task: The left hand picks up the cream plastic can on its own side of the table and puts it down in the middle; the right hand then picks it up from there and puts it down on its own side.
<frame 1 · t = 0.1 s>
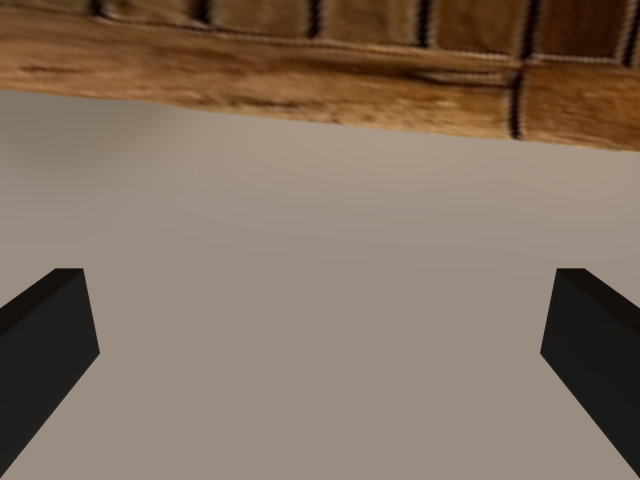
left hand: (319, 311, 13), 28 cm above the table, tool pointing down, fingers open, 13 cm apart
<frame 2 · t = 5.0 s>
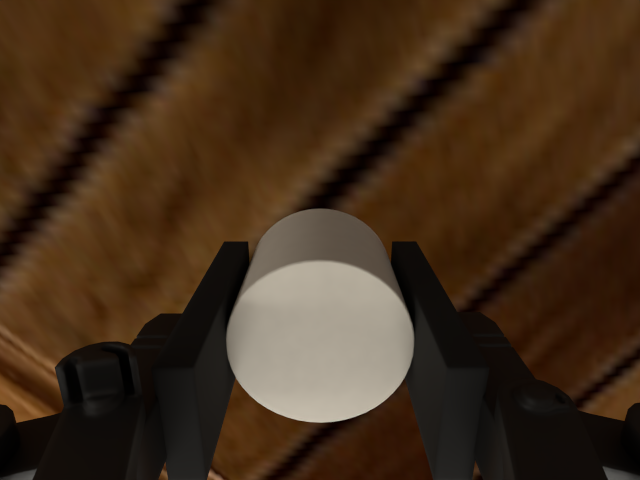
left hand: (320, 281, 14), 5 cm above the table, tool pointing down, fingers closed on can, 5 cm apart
can: (320, 275, 15), point 5 cm above the table, touching left hand
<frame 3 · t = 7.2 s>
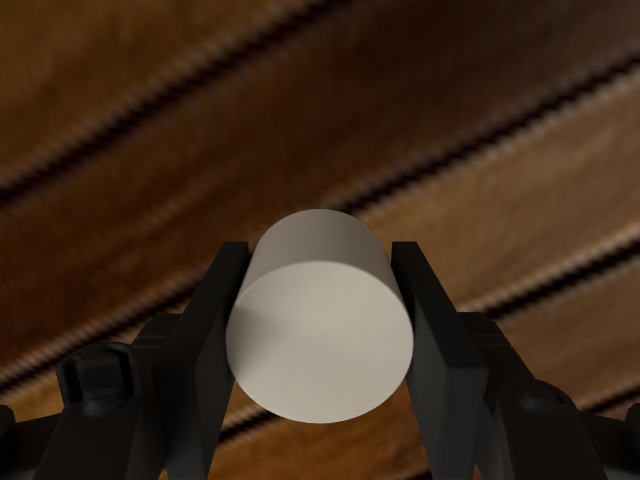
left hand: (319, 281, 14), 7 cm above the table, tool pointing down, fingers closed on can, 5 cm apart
can: (319, 275, 15), point 6 cm above the table, touching left hand
when the left hand's fingers open (1 cm above the table, at t = 9.6 s): can stays where it is, on the table.
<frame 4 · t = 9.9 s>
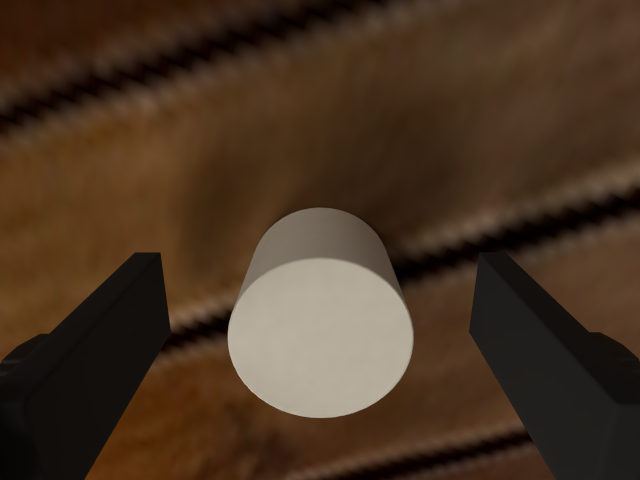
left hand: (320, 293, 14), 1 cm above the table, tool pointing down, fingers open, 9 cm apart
can: (320, 273, 15), on the table
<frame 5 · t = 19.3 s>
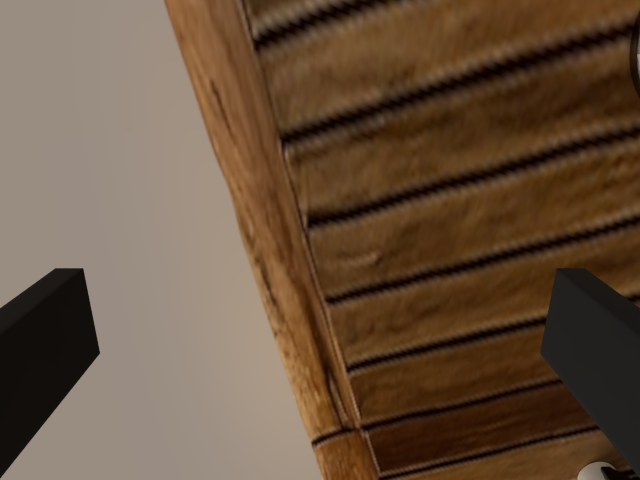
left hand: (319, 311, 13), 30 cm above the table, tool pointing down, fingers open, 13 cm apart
can: (596, 475, 55), on the table, touching right hand
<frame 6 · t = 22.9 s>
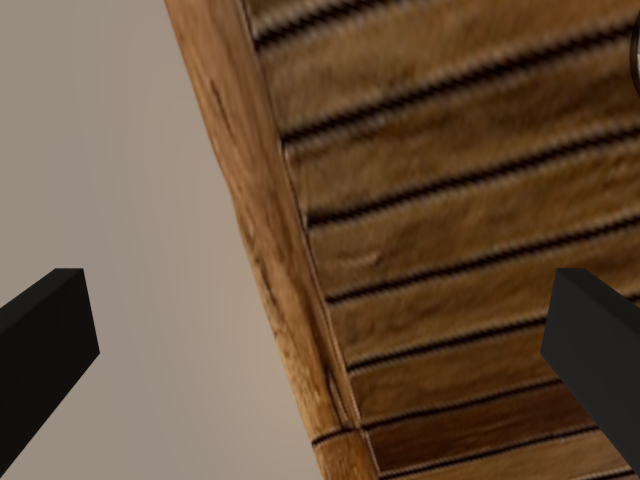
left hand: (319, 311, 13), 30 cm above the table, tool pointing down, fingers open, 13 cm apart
when the right hand's fingers open (2 cm above the table, at t = 26.7 s): can drops 1 cm, on the table.
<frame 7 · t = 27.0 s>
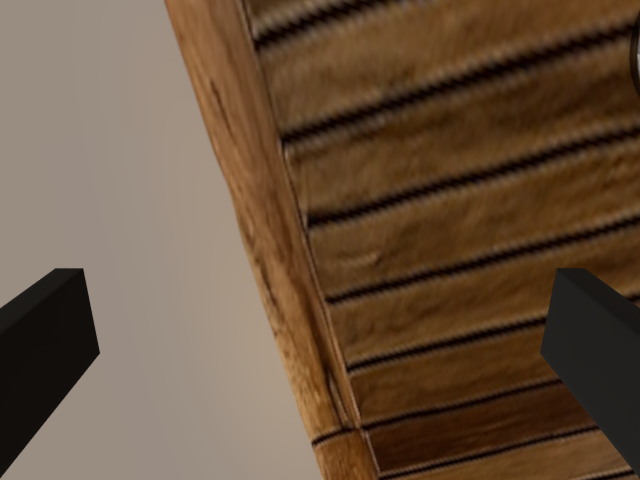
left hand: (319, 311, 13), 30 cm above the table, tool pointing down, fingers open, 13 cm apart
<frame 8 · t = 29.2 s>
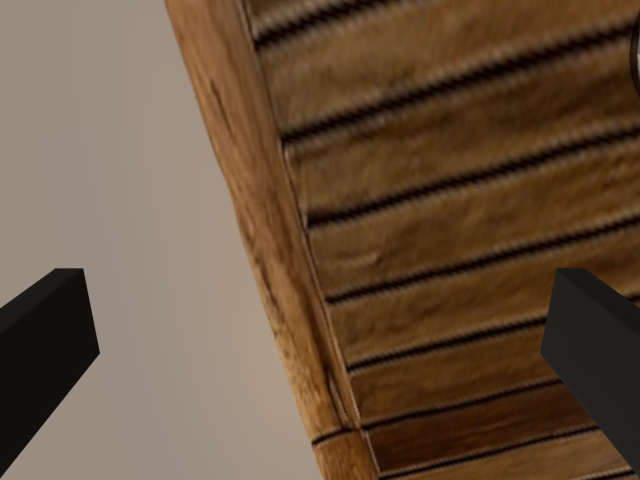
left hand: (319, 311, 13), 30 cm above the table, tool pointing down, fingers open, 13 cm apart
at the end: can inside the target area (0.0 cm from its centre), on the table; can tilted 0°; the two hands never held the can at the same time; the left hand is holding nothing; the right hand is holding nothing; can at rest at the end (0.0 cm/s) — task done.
